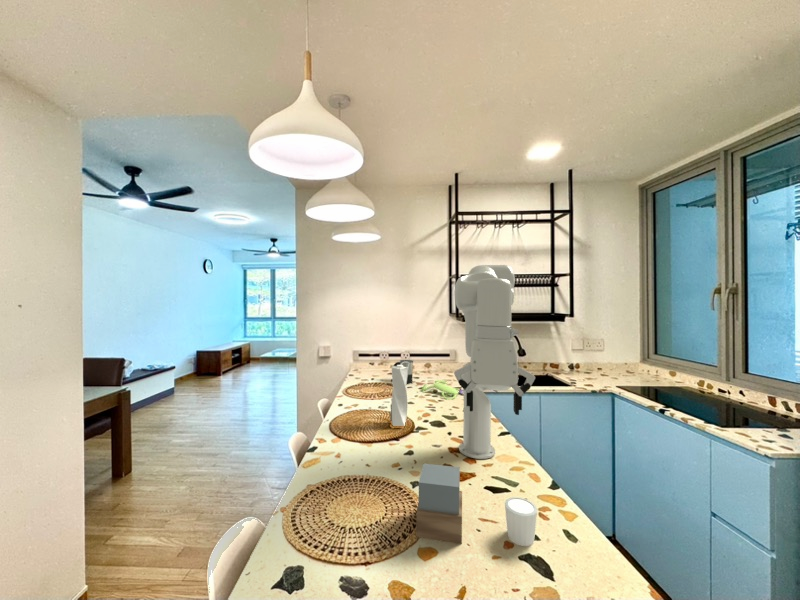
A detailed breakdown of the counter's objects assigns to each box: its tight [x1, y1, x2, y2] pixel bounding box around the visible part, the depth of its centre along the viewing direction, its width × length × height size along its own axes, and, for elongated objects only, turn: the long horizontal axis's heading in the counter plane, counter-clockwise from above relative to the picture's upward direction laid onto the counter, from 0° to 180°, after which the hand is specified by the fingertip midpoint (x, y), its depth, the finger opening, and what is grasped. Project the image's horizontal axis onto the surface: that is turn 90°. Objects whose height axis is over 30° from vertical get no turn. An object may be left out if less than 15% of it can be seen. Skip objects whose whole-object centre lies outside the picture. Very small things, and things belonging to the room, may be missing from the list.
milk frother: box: [390, 359, 414, 384], centre depth 215 cm, size 14×16×15 cm
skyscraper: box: [389, 361, 410, 426], centre depth 139 cm, size 8×8×28 cm
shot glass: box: [504, 496, 538, 547], centre depth 72 cm, size 7×7×7 cm
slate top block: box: [418, 463, 461, 515], centre depth 76 cm, size 9×9×6 cm
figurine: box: [420, 379, 463, 400], centre depth 193 cm, size 18×27×6 cm
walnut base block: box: [415, 490, 463, 545], centre depth 76 cm, size 10×10×6 cm
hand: (493, 411), depth 71 cm, fingers open, 9 cm apart
